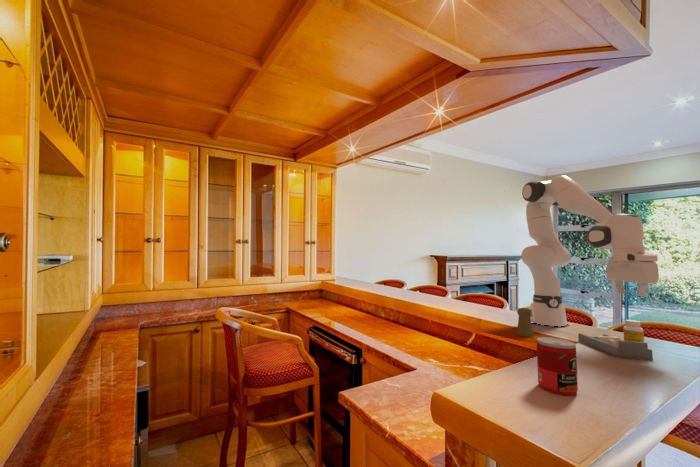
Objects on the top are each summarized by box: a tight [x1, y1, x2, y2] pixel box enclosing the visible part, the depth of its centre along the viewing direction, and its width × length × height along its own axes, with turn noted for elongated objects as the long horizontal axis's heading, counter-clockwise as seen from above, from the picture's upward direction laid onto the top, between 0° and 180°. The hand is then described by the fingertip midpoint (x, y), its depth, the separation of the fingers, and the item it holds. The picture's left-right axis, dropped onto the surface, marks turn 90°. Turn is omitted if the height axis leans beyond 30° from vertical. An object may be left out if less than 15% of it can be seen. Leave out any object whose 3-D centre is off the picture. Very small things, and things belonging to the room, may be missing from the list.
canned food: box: [536, 336, 579, 397], centre depth 73 cm, size 8×8×11 cm
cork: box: [516, 307, 534, 338], centre depth 128 cm, size 6×6×11 cm
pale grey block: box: [596, 335, 621, 347], centre depth 108 cm, size 4×7×3 cm, turn 82°
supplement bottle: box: [622, 319, 645, 342], centre depth 110 cm, size 5×5×10 cm
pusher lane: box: [577, 332, 654, 361], centre depth 108 cm, size 21×10×5 cm, turn 172°
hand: (631, 294), depth 112 cm, fingers open, 8 cm apart
